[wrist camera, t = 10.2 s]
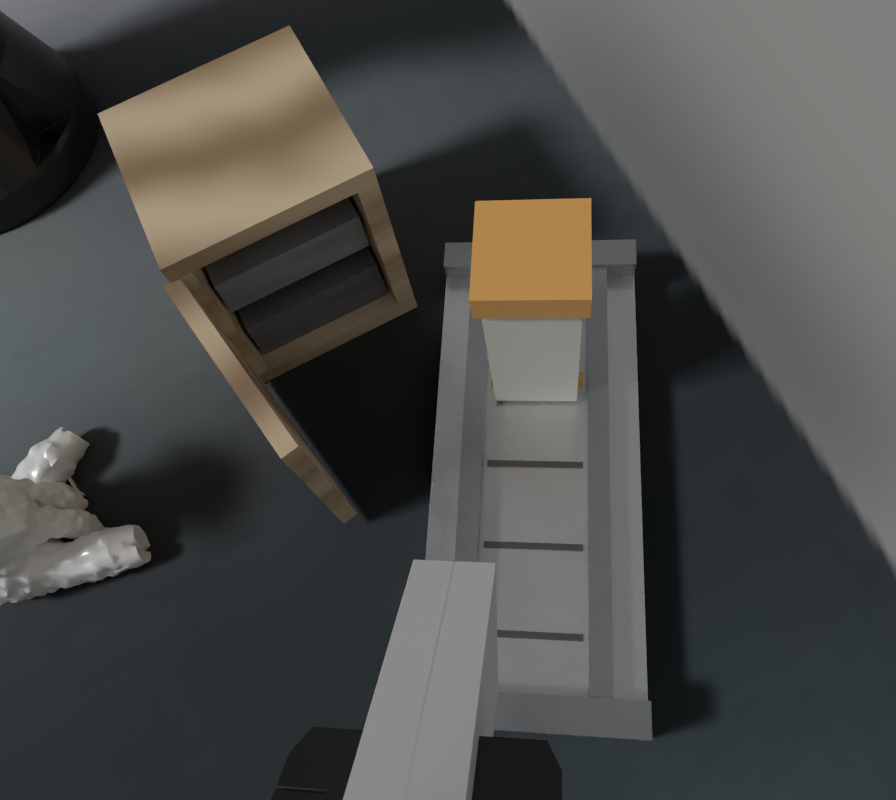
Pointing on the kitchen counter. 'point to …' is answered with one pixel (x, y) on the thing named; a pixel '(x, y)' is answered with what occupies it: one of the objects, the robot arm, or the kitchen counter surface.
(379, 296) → the wooden cabinet
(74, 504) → the sitting furry creature
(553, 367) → the fader knob
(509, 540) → the fader track
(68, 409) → the kitchen counter surface
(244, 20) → the kitchen counter surface
